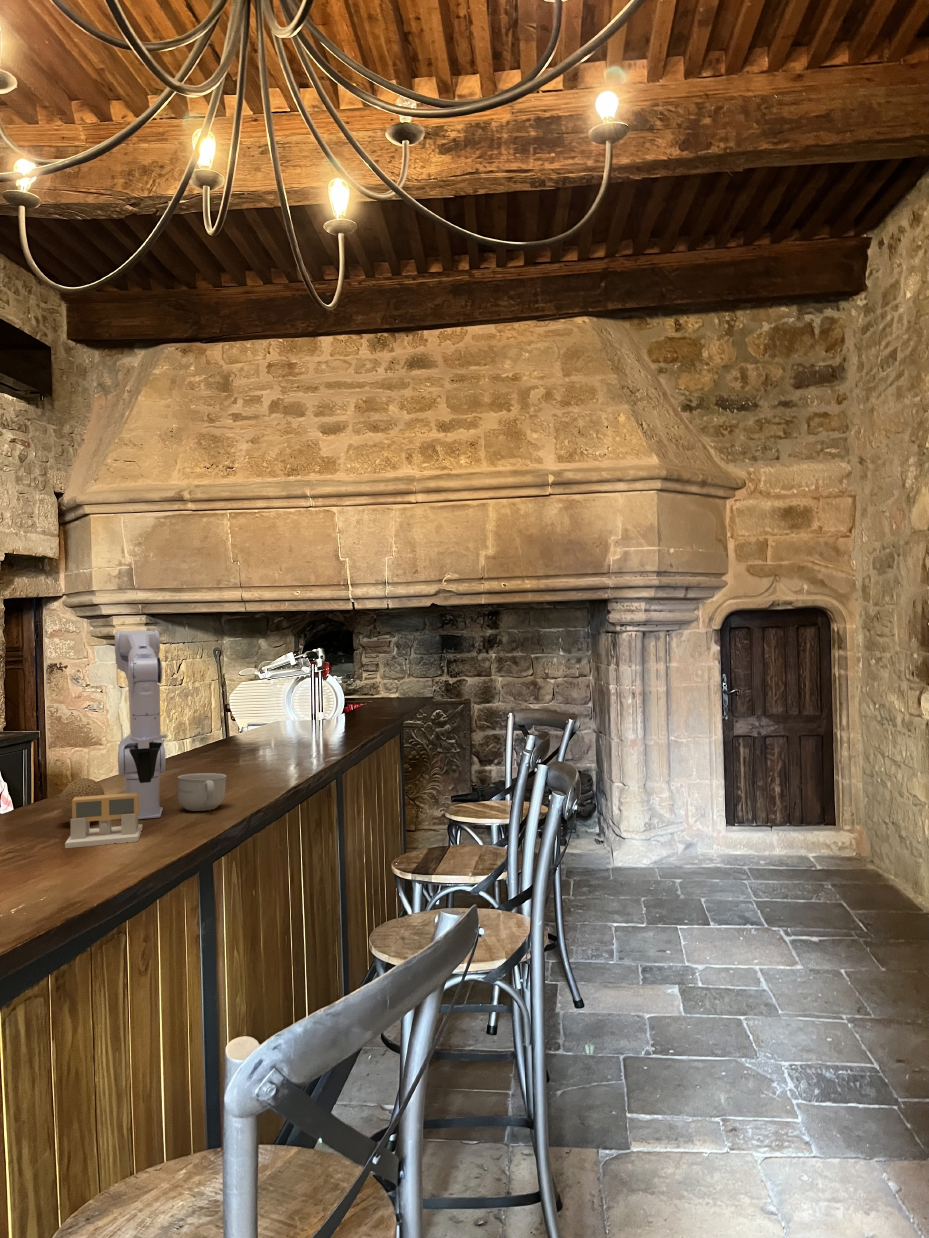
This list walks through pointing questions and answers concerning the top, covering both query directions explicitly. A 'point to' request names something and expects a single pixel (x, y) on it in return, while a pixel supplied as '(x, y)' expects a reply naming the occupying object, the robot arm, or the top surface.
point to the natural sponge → (78, 793)
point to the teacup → (201, 791)
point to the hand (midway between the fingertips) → (146, 779)
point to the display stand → (103, 832)
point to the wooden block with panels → (105, 806)
